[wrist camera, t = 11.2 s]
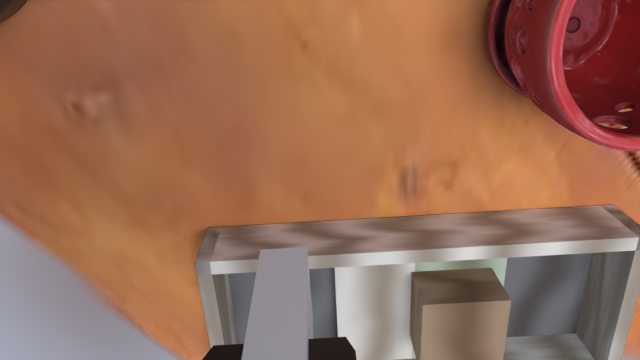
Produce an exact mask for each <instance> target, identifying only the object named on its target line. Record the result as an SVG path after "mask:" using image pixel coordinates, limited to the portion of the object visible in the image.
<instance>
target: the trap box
mask: <svg viewBox="0 0 640 360" xmlns="http://www.w3.org/2000/svg"><path fill="white" fill-rule="evenodd" d="M298 247H307V248H308V262H309V275H310V288H311V301H312V314H313V339H315V338H333V337H346V338H347V339H348V341H349V342H350V343H351V345H352V346H353V348H354V349H355V351H356V359H357V360H416V356H415V352H414V349H413V345H412V341H411V338H410V306H411V277H412V272H419V271H437V270H456V269H474V268H492V269H493V271H494V272H495V274H496V276H497V277H498V279H499V281H500V282H501V284H502V286H503V287H504V289H505V291H506V292H507V294H508V296H509V297H510V299H511V307H510V314H509V321H508V328H507V335H506V342H505V349H504V357H503V360H621V359H622V355H623V351H624V347H625V344H626V340H627V336H628V332H629V329H630V325H631V321H632V318H633V314H634V310H635V306H636V303H637V299H638V295H639V292H640V225H639V224H638V223H636V222H635V221H634V220H633V219H631V218H630V217H629V216H627V215H626V214H625V213H624V212H622V211H621V210H620V209H619V208H617V207H616V206H615V205H596V206H578V207H561V208H543V209H526V210H508V211H491V212H473V213H456V214H438V215H421V216H403V217H386V218H369V219H351V220H334V221H316V222H299V223H281V224H264V225H246V226H229V227H211V228H208V230H207V232H206V235H205V237H204V240H203V242H202V245H201V248H200V250H199V253H198V255H197V258H196V261H195V267H196V272H197V277H198V283H199V288H200V293H201V298H202V304H203V309H204V314H205V319H206V324H207V330H208V335H209V340H210V345H211V348H212V347H213V345H230V344H244V341H245V336H246V330H247V324H248V318H249V312H250V307H251V301H252V295H253V289H254V283H255V278H256V272H257V266H258V260H259V255H260V250H263V249H281V248H298Z"/></svg>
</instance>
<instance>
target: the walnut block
mask: <svg viewBox="0 0 640 360" xmlns="http://www.w3.org/2000/svg"><path fill="white" fill-rule="evenodd" d="M510 307H511V299H510V297H509V296H508V294H507V292H506V291H505V289H504V287H503V286H502V284H501V282H500V281H499V279H498V277H497V276H496V274H495V272H494V271H493V269H492V268H474V269H456V270H437V271H419V272H412V277H411V306H410V338H411V341H412V345H413V349H414V352H415V356H416V360H503V357H504V349H505V342H506V335H507V328H508V321H509V314H510Z"/></svg>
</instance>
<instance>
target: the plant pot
mask: <svg viewBox="0 0 640 360" xmlns="http://www.w3.org/2000/svg"><path fill="white" fill-rule="evenodd" d="M488 45H489V51H490V55H491V59H492V62H493V64H494V66H495V68H496V70H497V72H498V73H499V75H500V76H501V78H502V79H503V80H504V81H505V82H506V83H507V84H508V85H509V86H510V87H511V88H512V89H514V90H515V91H516V92H518V93H520V94H521V95H523V96H525V97H528V98H530V99H531V100H532V101H533V102H534V103H535V104H536V105H537V106H538V107H539V109H541V110H542V111H543V112H544V113H546V114H547V115H548V116H550V117H551V118H552V119H554V120H555V121H556V122H558V123H559V124H561V125H562V126H564V127H565V128H567V129H568V130H570V131H572V132H574V133H575V134H577V135H579V136H581V137H583V138H585V139H587V140H590V141H592V142H594V143H597V144H599V145H602V146H605V147H608V148H611V149H617V150H624V151H640V0H494V2H493V5H492V8H491V12H490V17H489V23H488ZM628 108H629V109H633V110H631V111H627V112H618V111H619V110H622V109H628ZM598 123H613V124H620V125H623V126H626V127H628V128H625V129H617V128H610V127H606V126H603V125H599V124H598Z"/></svg>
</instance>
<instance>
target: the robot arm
mask: <svg viewBox="0 0 640 360" xmlns="http://www.w3.org/2000/svg"><path fill="white" fill-rule="evenodd" d="M25 2H26V0H0V22H1V21H3V20H5V19H7V18H8V17H10V16H11V15H12V14H14V13H15V12H16V11H17V10H18V9H19V8H20V7H21V6H22V5H23V4H24V3H25ZM202 360H357V359H356V351H355V349H354V348H353V346H352V345H351V343H350V342H349V341H348V339H347V338H346V337H333V338H315V339H313V314H312V301H311V288H310V275H309V262H308V248H307V247H298V248H281V249H263V250H260V255H259V260H258V266H257V272H256V278H255V283H254V289H253V295H252V301H251V307H250V312H249V318H248V324H247V330H246V336H245V341H244V344H230V345H213V347H212V348H211V349H210V350H209V352H208V353H207V354H206V356H205V357H204V358H203V359H202Z"/></svg>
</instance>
